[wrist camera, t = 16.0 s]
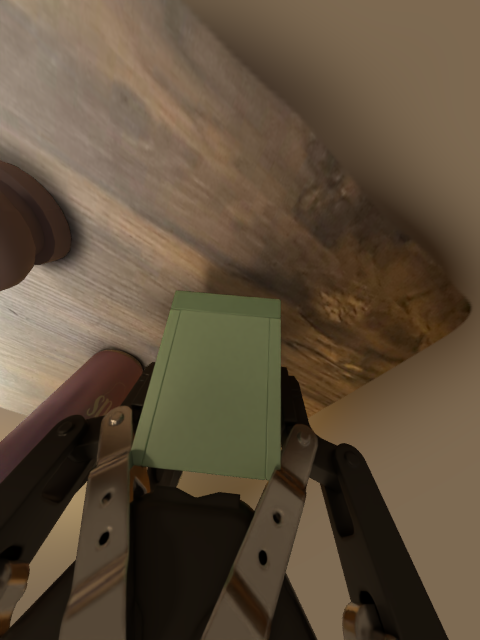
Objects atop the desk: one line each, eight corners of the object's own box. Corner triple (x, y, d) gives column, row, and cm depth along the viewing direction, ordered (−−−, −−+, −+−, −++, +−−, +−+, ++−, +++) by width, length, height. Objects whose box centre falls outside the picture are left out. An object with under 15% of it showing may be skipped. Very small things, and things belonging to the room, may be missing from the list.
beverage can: (85, 350, 20) (-178, 576, 8) (127, 343, 19) (-103, 593, 7) (116, 382, 24) (-38, 580, 11) (154, 377, 22) (30, 592, 10)
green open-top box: (256, 432, 15) (281, 482, 7) (187, 425, 15) (125, 464, 7) (261, 342, 18) (281, 298, 10) (203, 337, 18) (175, 289, 10)
